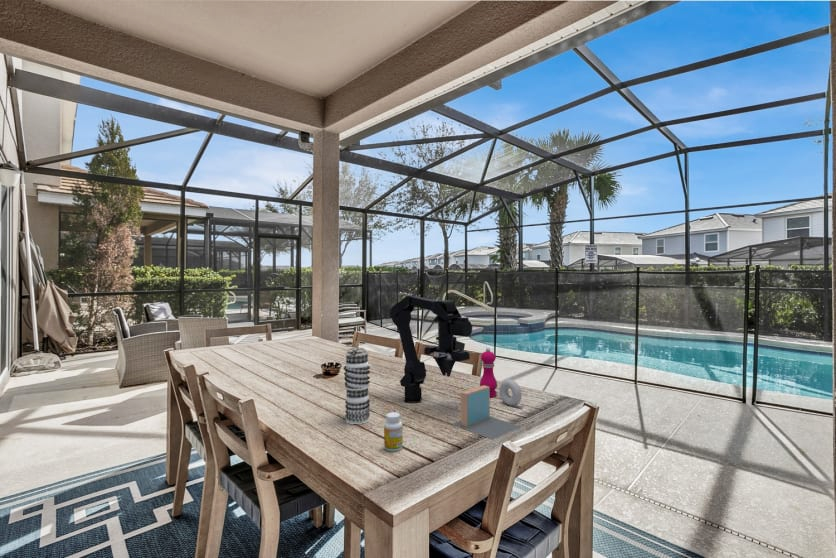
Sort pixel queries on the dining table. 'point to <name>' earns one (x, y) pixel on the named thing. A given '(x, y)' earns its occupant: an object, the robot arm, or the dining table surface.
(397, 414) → the supplement bottle
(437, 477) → the dining table surface
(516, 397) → the donut
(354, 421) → the decorative candle
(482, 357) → the pepper mill
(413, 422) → the dining table surface
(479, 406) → the terracotta tile
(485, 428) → the rubber mat
